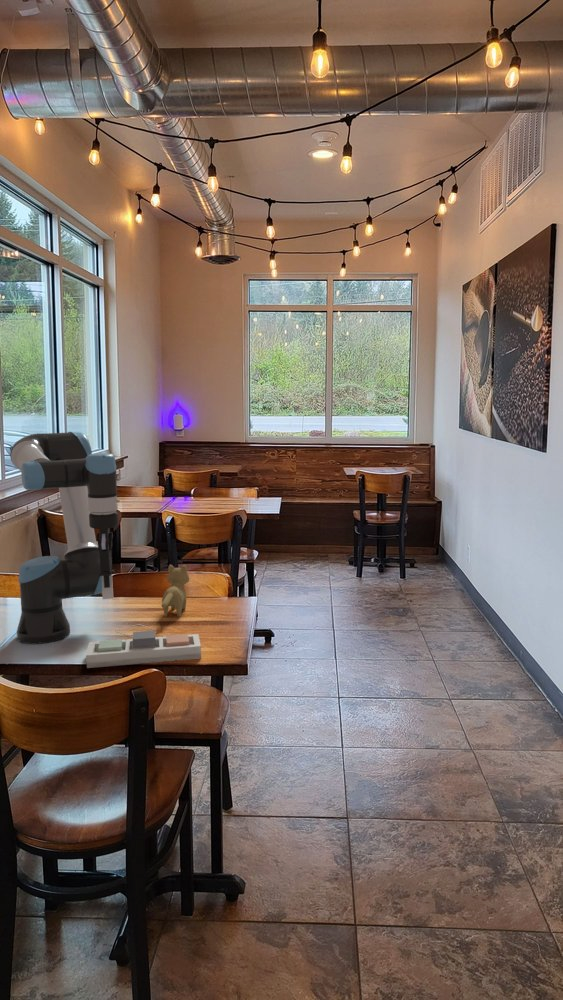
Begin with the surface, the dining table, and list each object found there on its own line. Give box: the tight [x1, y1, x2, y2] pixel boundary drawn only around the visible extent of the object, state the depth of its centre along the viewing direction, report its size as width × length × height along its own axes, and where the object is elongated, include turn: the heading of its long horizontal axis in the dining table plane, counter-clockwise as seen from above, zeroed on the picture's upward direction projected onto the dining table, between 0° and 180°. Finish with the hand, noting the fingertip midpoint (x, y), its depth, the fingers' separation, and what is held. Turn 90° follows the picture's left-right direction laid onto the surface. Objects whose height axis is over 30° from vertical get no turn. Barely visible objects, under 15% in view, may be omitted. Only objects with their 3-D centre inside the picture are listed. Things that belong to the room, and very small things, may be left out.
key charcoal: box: [132, 629, 156, 648], centre depth 190 cm, size 6×6×2 cm
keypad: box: [85, 633, 202, 669], centre depth 191 cm, size 30×10×4 cm, turn 101°
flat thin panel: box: [115, 623, 166, 638], centre depth 211 cm, size 9×1×15 cm
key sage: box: [98, 638, 123, 652], centre depth 189 cm, size 6×6×2 cm
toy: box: [161, 564, 190, 618], centre depth 226 cm, size 7×24×15 cm, turn 174°
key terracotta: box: [165, 633, 189, 647], centre depth 192 cm, size 6×6×2 cm
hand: (108, 597), depth 188 cm, fingers closed
